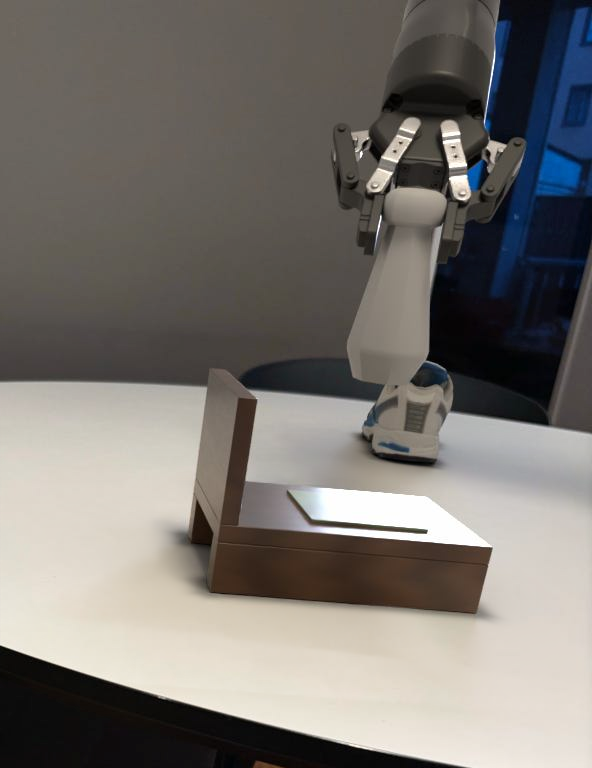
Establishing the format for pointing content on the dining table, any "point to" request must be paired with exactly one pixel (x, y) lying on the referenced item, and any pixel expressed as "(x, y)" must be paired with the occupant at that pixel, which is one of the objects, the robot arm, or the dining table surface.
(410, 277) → the salt shaker
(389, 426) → the athletic shoe
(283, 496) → the l-shaped wooden stand
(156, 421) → the dining table surface
